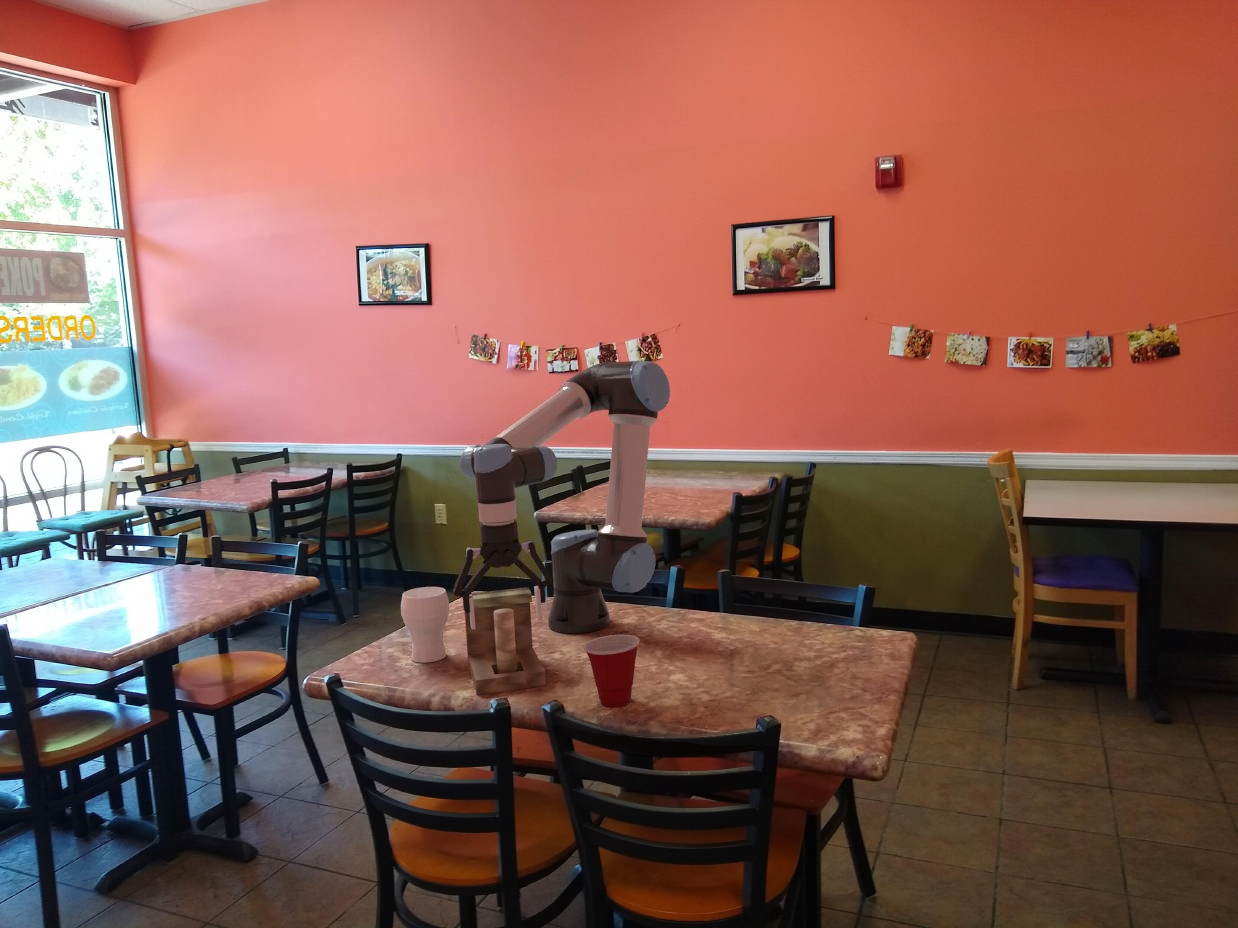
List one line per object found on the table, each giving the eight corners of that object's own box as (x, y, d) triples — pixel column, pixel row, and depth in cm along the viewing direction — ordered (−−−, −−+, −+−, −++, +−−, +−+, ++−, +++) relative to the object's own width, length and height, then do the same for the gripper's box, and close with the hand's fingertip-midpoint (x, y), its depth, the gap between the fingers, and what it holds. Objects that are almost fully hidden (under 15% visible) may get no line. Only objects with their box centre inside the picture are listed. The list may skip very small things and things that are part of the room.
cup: (441, 665, 201) (437, 599, 199) (396, 664, 203) (391, 598, 201) (459, 649, 211) (455, 586, 210) (416, 648, 214) (411, 585, 212)
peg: (516, 677, 192) (511, 607, 190) (518, 683, 188) (514, 612, 186) (497, 679, 191) (492, 609, 189) (499, 686, 187) (494, 615, 185)
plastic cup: (597, 688, 184) (594, 630, 182) (649, 693, 180) (646, 633, 179) (577, 709, 174) (574, 648, 172) (632, 714, 170) (629, 652, 169)
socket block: (531, 657, 204) (527, 587, 202) (545, 685, 187) (541, 608, 185) (468, 665, 201) (463, 594, 199) (476, 694, 183) (471, 616, 181)
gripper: (555, 511, 192) (562, 609, 195) (434, 524, 186) (443, 625, 189) (562, 518, 185) (569, 619, 188) (436, 532, 179) (446, 636, 182)
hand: (506, 622), depth 189 cm, fingers open, 13 cm apart
